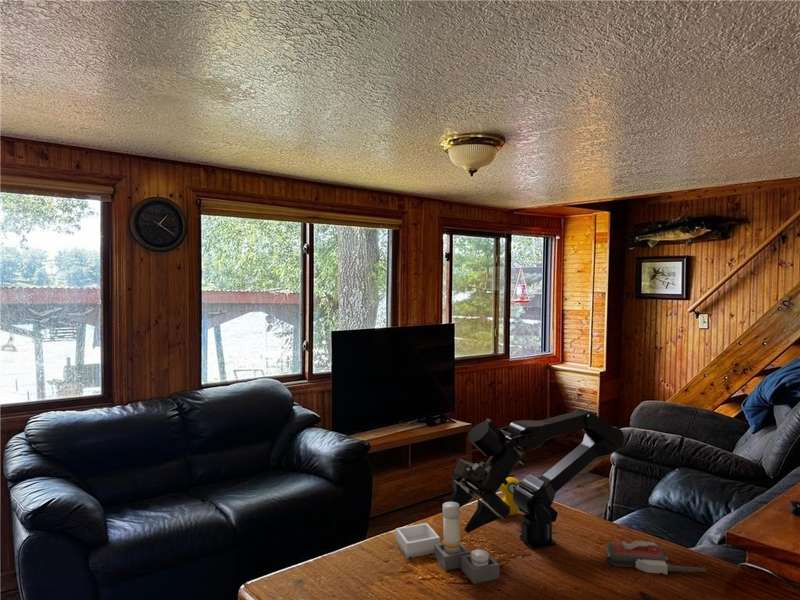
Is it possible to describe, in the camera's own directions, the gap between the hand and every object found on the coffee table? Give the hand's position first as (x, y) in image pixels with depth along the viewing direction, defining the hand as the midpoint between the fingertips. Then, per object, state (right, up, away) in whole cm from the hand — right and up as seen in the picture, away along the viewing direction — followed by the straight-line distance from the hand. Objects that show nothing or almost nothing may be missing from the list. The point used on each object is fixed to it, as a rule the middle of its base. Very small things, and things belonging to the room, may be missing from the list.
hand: (456, 522), depth 126 cm
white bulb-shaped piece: (-1, -9, 0) cm, 9 cm away
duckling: (+16, -7, +24) cm, 30 cm away
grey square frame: (-1, -9, 0) cm, 9 cm away
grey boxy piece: (+5, -9, -6) cm, 11 cm away
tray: (-9, -9, +7) cm, 14 cm away
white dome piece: (+5, -9, -6) cm, 11 cm away
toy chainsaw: (+43, -8, -3) cm, 44 cm away
